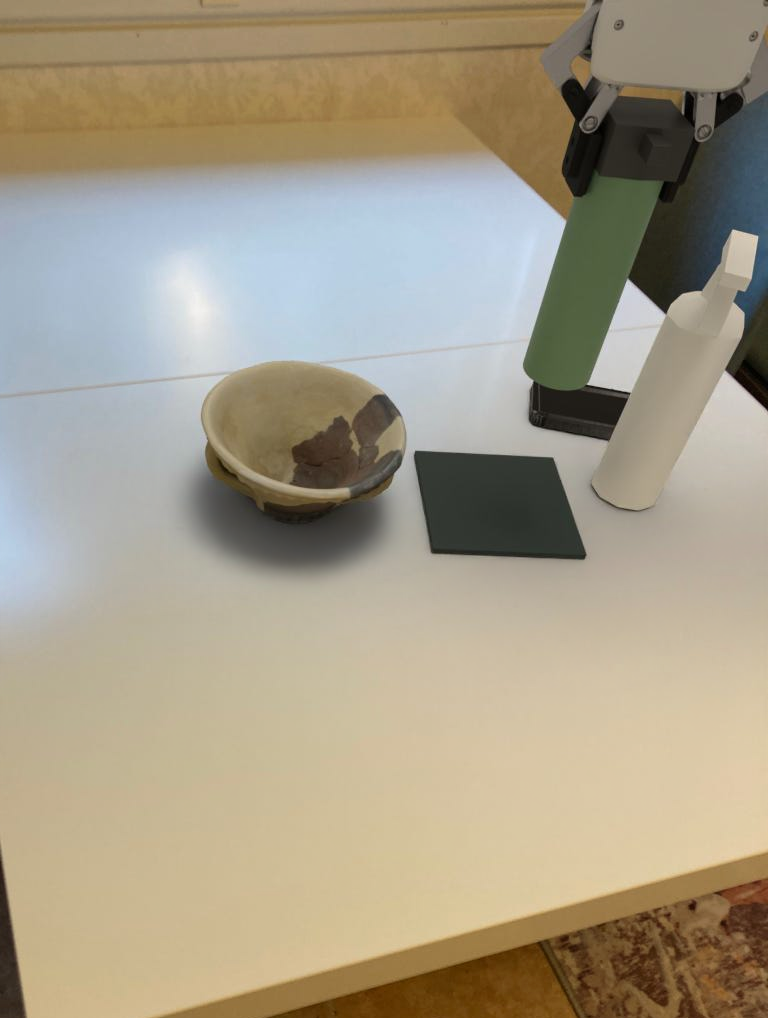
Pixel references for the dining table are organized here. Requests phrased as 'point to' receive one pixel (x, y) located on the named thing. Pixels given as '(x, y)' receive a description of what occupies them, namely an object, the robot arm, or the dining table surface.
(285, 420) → the bowl
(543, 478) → the mat
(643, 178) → the mister
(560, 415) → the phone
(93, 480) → the dining table surface
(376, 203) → the dining table surface
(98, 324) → the dining table surface
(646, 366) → the white cylindrical bottle
